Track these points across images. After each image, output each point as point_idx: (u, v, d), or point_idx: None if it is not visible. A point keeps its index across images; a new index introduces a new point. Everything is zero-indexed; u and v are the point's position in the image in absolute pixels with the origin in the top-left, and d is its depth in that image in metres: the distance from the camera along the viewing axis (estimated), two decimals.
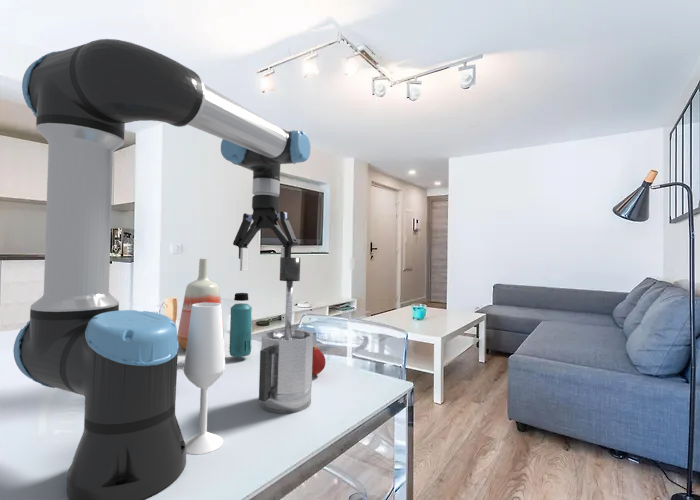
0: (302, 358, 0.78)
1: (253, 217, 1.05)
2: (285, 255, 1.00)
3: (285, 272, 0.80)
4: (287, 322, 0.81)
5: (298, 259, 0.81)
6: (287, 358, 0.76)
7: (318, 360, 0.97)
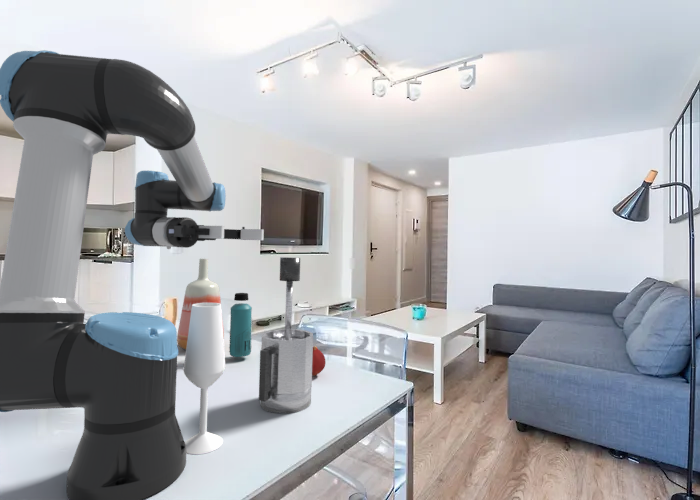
0: (302, 358, 0.78)
1: None
2: None
3: (285, 272, 0.80)
4: (287, 322, 0.81)
5: (298, 259, 0.81)
6: (287, 358, 0.76)
7: (318, 360, 0.97)
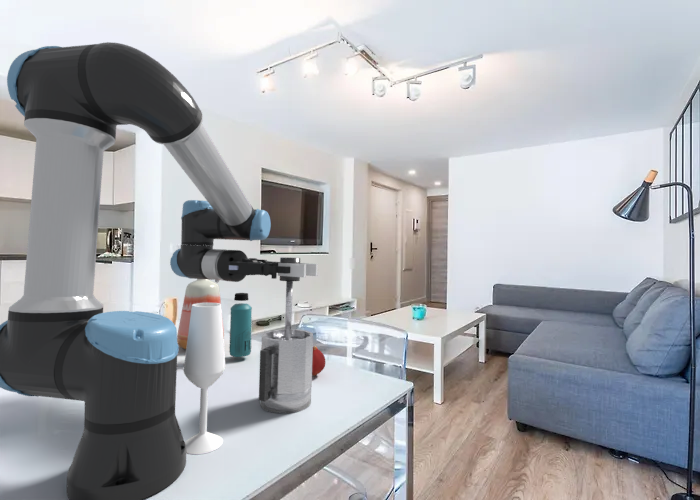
0: (302, 358, 0.78)
1: None
2: None
3: None
4: (287, 322, 0.81)
5: (298, 259, 0.81)
6: (287, 358, 0.76)
7: (318, 360, 0.97)
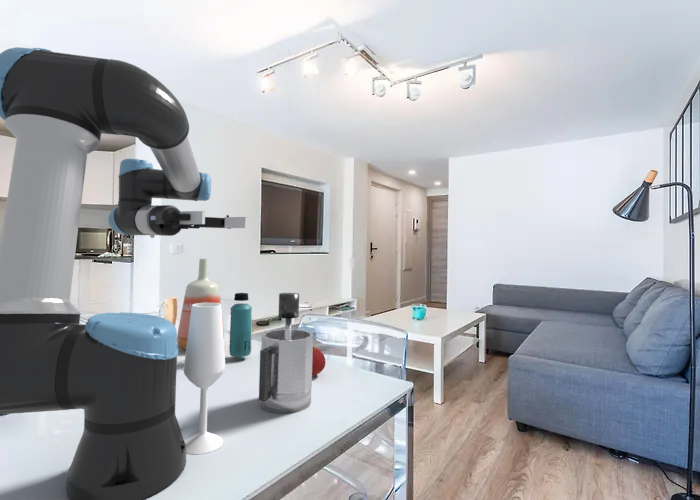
0: (302, 358, 0.78)
1: None
2: None
3: (284, 310, 0.80)
4: None
5: (297, 296, 0.81)
6: (287, 358, 0.76)
7: (318, 360, 0.97)
